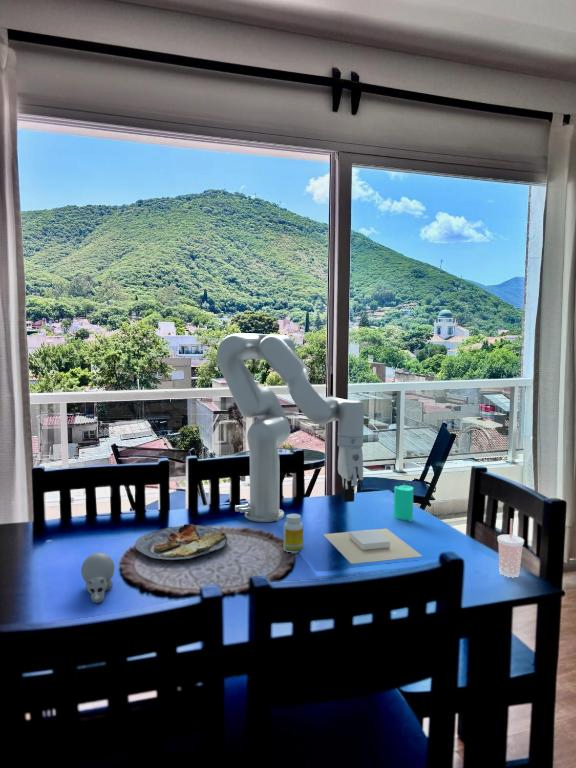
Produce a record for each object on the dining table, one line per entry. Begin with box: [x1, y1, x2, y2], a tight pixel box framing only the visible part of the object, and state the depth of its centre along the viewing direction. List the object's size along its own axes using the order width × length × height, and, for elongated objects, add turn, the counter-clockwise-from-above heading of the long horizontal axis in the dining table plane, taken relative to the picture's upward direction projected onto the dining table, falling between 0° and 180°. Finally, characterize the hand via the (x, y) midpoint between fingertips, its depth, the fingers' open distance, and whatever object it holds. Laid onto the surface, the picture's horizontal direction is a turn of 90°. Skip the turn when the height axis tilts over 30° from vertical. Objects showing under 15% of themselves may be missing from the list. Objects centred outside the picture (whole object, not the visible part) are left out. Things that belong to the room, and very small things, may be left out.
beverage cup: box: [497, 518, 525, 579], centre depth 142 cm, size 6×6×14 cm
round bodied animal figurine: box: [80, 552, 115, 604], centre depth 130 cm, size 7×12×8 cm, turn 13°
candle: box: [393, 484, 415, 523], centre depth 183 cm, size 6×6×12 cm
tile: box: [348, 529, 390, 551], centre depth 160 cm, size 8×2×10 cm
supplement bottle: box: [282, 513, 304, 554], centre depth 157 cm, size 5×5×10 cm
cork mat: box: [322, 528, 423, 565], centre depth 159 cm, size 20×22×1 cm
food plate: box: [134, 523, 228, 561], centre depth 159 cm, size 25×23×4 cm
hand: (348, 500), depth 174 cm, fingers closed
